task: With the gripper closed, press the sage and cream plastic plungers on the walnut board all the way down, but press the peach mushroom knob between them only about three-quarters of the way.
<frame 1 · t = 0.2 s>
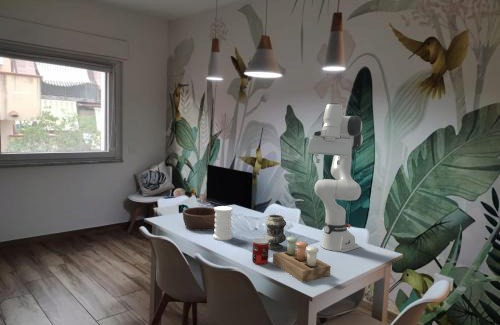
hand: (327, 163, 167), 51 cm above the table, tool tilted 20°, fingers open, 8 cm apart
peach mushroom knob: (301, 250, 171), point 9 cm above the table, slide at 0.0 cm
canned food: (260, 262, 180), on the table
decorative container: (222, 237, 217), on the table
sage plunger: (291, 245, 178), point 9 cm above the table, slide at 0.0 cm
wooden bowl: (201, 226, 239), on the table
apothecary jar: (274, 247, 203), on the table
cream plunger: (311, 256, 164), point 9 cm above the table, slide at 0.0 cm
walnut board: (300, 269, 172), on the table
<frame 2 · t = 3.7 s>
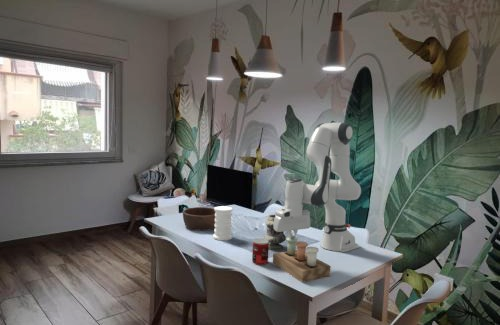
hand: (291, 238, 178), 13 cm above the table, tool pointing down, fingers closed, pressing on sage plunger
sage plunger: (291, 245, 178), point 9 cm above the table, slide at 0.1 cm, touching gripper
everything else where it was.
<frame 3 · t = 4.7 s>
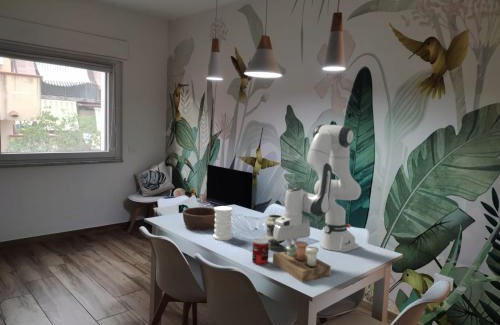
hand: (291, 247, 178), 9 cm above the table, tool pointing down, fingers closed, pressing on sage plunger
sage plunger: (291, 254, 179), point 5 cm above the table, slide at 4.5 cm, touching gripper
everything else where it was.
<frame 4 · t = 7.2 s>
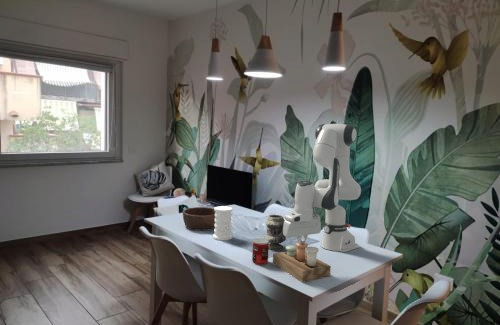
hand: (301, 244, 171), 13 cm above the table, tool pointing down, fingers closed, pressing on peach mushroom knob
peach mushroom knob: (301, 251, 171), point 9 cm above the table, slide at 0.4 cm, touching gripper
sage plunger: (291, 254, 179), point 5 cm above the table, slide at 4.5 cm
everything else where it was.
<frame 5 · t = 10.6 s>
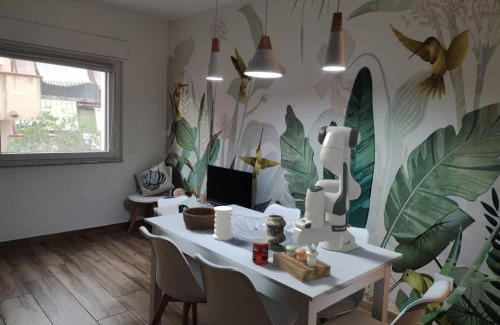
hand: (312, 251, 164), 12 cm above the table, tool pointing down, fingers closed, pressing on cream plunger
peach mushroom knob: (300, 258, 172), point 6 cm above the table, slide at 3.5 cm
cream plunger: (311, 259, 165), point 8 cm above the table, slide at 1.5 cm, touching gripper
everything else where it was.
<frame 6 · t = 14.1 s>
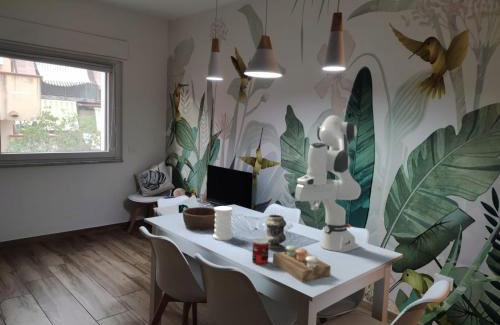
hand: (314, 209, 162), 31 cm above the table, tool pointing down, fingers closed
cream plunger: (311, 266, 165), point 5 cm above the table, slide at 4.5 cm
everything else where it was.
at the end: sage plunger slide at 4.5 cm; peach mushroom knob slide at 3.5 cm; cream plunger slide at 4.5 cm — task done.
